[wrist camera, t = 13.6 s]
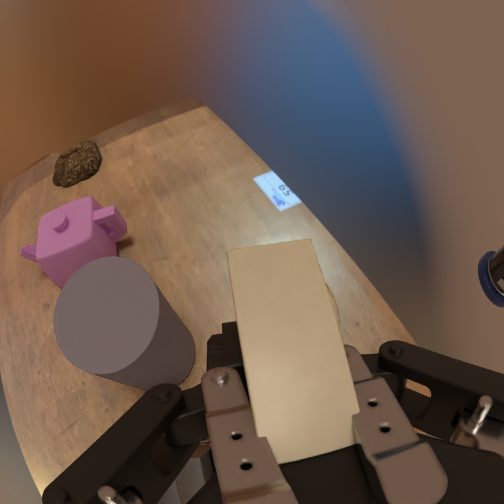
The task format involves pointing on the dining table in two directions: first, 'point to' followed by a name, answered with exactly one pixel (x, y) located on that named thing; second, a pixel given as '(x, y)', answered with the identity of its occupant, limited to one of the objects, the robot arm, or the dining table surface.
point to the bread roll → (77, 164)
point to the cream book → (292, 350)
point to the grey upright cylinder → (122, 326)
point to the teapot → (75, 238)
